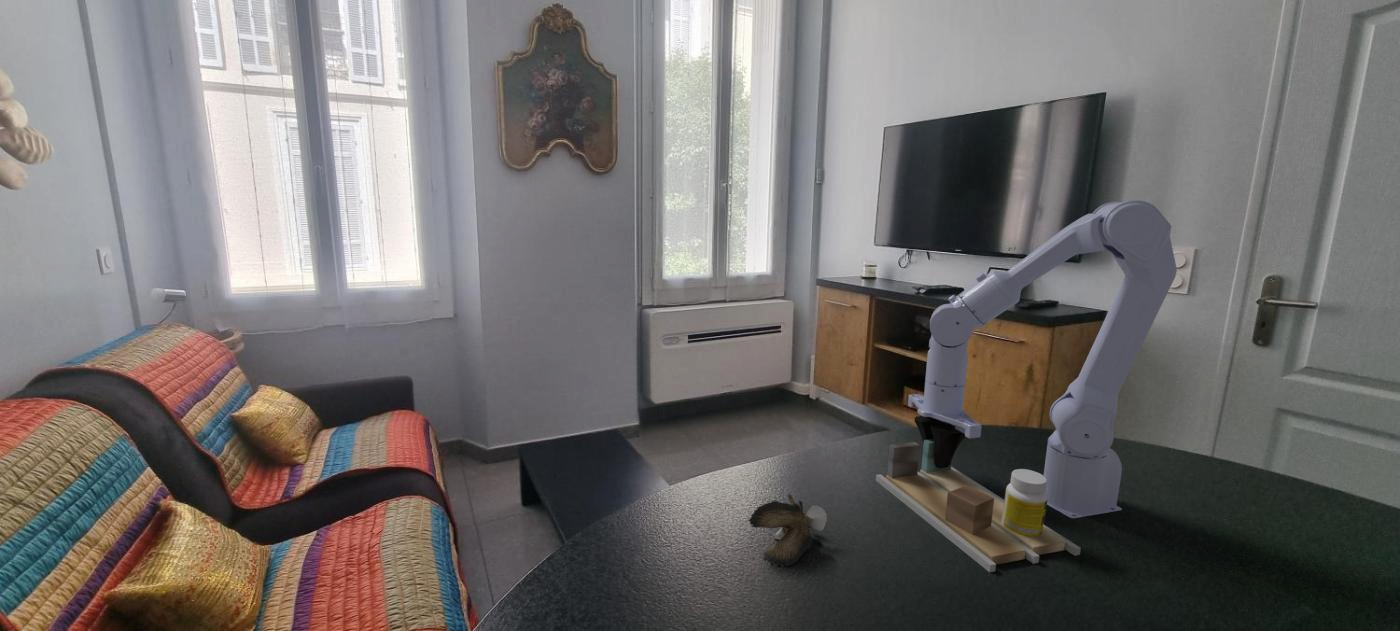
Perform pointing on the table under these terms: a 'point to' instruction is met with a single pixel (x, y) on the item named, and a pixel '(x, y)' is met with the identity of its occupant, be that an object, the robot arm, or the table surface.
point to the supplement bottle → (1025, 503)
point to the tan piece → (954, 481)
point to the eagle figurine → (788, 529)
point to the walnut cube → (969, 509)
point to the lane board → (958, 539)
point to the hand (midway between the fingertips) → (937, 463)
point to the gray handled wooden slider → (944, 504)
